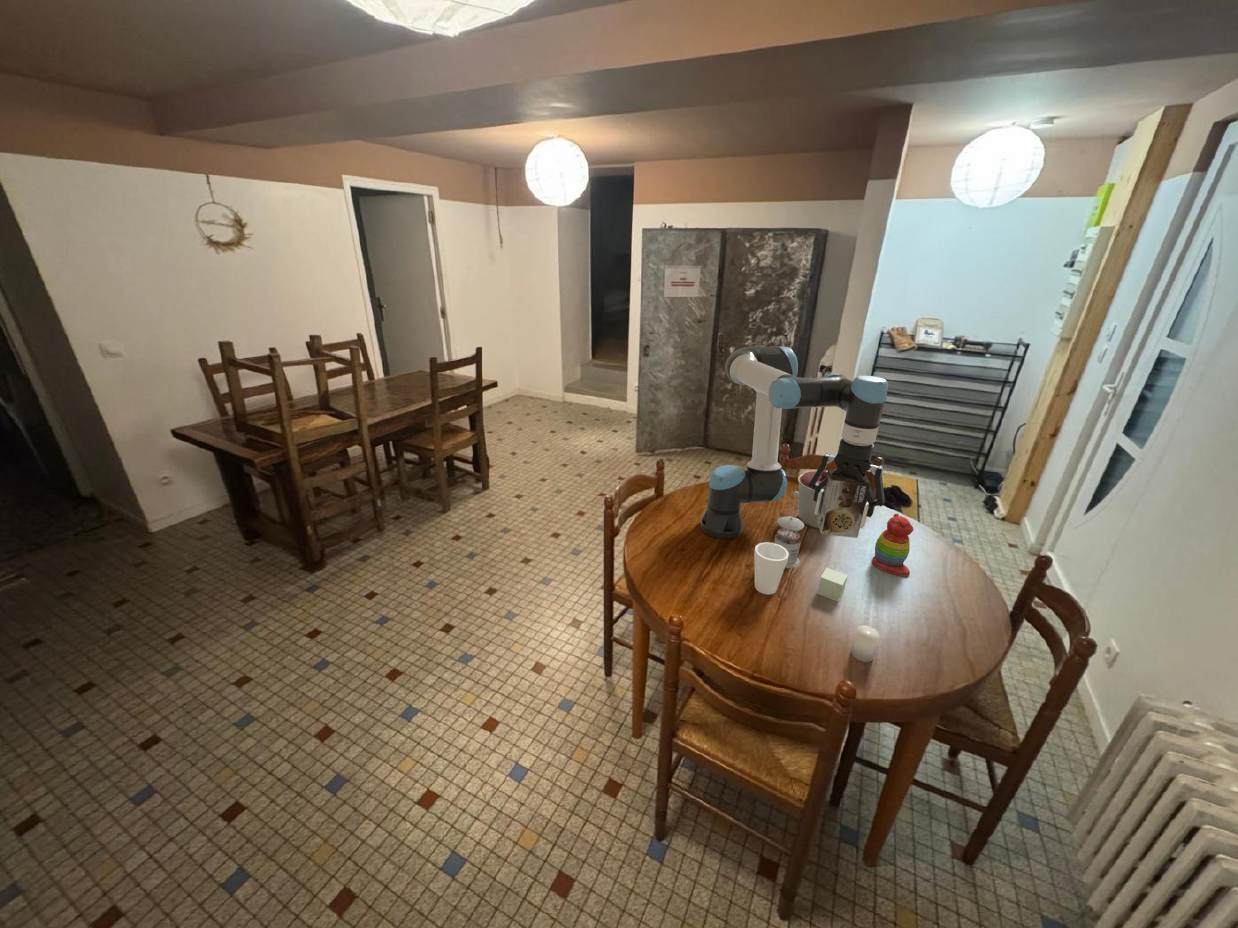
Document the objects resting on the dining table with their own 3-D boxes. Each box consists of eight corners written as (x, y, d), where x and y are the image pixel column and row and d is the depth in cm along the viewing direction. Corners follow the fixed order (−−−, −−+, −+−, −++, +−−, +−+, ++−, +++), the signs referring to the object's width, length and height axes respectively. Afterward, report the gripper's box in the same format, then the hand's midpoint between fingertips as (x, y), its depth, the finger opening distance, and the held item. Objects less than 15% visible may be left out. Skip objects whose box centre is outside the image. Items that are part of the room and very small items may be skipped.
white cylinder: (849, 655, 116) (854, 634, 113) (853, 643, 120) (859, 622, 117) (871, 665, 113) (877, 643, 111) (875, 652, 117) (881, 631, 114)
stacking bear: (911, 577, 145) (927, 528, 138) (876, 573, 147) (890, 524, 140) (899, 557, 155) (913, 511, 148) (866, 554, 157) (879, 507, 150)
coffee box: (851, 526, 126) (865, 472, 120) (857, 538, 120) (872, 482, 114) (816, 522, 128) (827, 468, 121) (820, 534, 122) (832, 479, 116)
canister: (809, 536, 166) (820, 483, 158) (781, 512, 183) (790, 463, 174) (852, 531, 170) (865, 478, 162) (822, 507, 186) (832, 459, 178)
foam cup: (745, 578, 144) (750, 542, 139) (774, 577, 145) (780, 541, 140) (756, 598, 135) (762, 561, 130) (786, 597, 136) (794, 560, 131)
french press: (765, 562, 152) (777, 494, 142) (772, 545, 161) (783, 479, 151) (797, 571, 148) (811, 501, 138) (802, 552, 157) (816, 486, 147)
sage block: (816, 593, 138) (820, 577, 136) (822, 583, 142) (826, 567, 140) (838, 602, 135) (842, 585, 132) (843, 591, 139) (847, 575, 137)
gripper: (804, 434, 118) (790, 511, 127) (908, 456, 105) (884, 540, 114) (813, 427, 123) (799, 500, 132) (913, 447, 110) (890, 527, 119)
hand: (839, 519), depth 123 cm, fingers closed on coffee box, 10 cm apart
